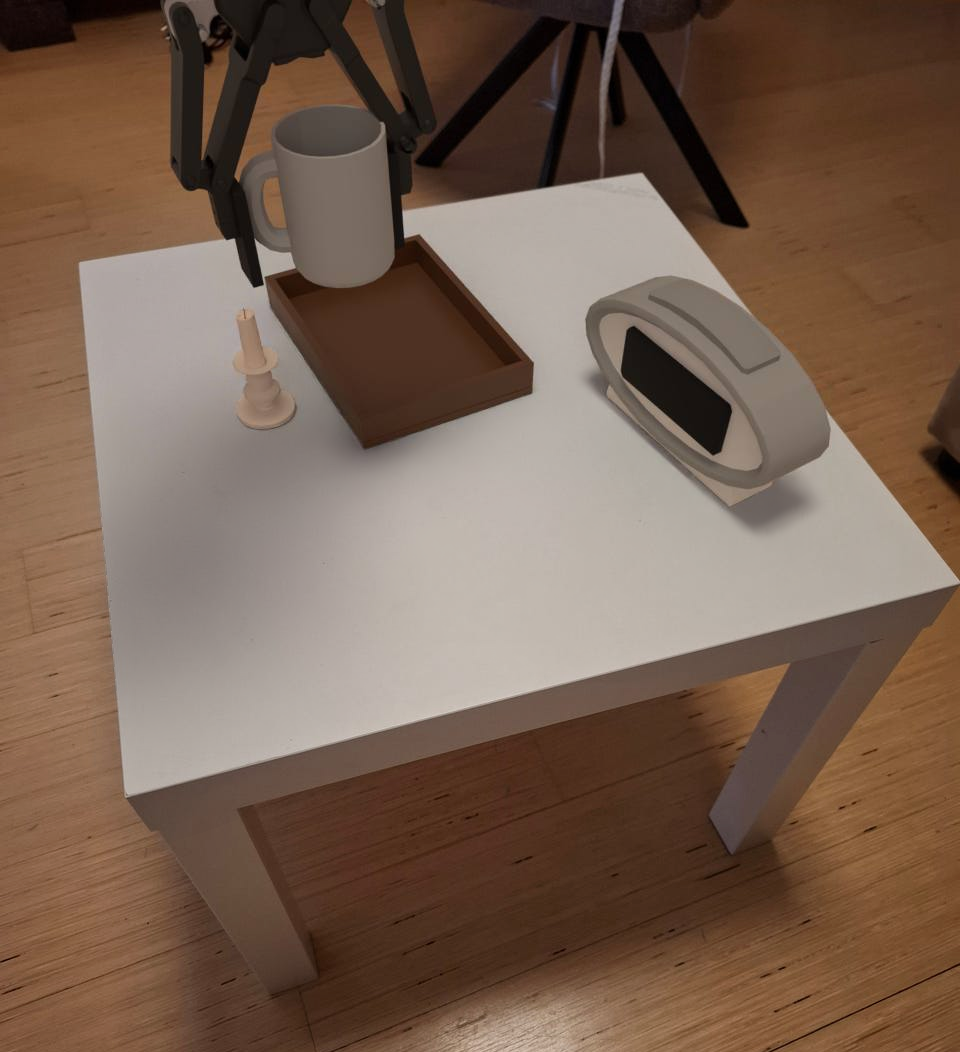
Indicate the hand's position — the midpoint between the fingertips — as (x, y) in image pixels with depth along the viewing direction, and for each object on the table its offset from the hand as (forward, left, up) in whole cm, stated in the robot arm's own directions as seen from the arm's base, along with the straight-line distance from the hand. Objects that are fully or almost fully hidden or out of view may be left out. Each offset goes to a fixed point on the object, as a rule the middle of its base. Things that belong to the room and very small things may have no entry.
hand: (324, 257), depth 66 cm
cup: (0, 0, 0) cm, 1 cm away
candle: (-9, -5, -18) cm, 21 cm away
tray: (-12, +9, -18) cm, 23 cm away
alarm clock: (+12, +26, -18) cm, 34 cm away
